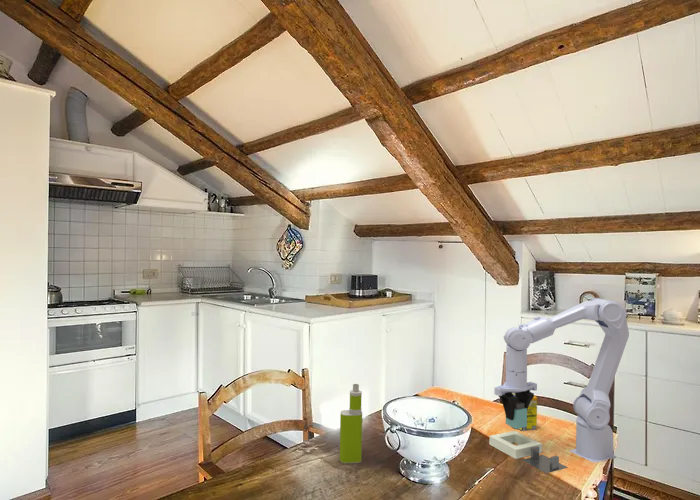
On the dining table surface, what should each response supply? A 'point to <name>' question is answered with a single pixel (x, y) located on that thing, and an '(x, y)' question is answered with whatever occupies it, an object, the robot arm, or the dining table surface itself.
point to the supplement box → (531, 415)
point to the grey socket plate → (543, 461)
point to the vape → (351, 429)
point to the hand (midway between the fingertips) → (515, 417)
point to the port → (518, 451)
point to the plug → (518, 416)
